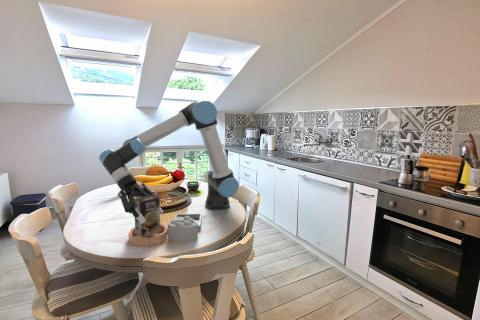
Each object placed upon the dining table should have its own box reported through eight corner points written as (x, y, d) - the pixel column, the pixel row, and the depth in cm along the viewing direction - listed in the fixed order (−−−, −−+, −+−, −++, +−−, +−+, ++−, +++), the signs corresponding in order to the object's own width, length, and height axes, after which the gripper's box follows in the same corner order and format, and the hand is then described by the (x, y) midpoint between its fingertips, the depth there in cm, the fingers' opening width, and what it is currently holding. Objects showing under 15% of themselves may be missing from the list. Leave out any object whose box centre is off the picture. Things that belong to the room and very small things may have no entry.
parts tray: (201, 217, 136) (201, 213, 135) (200, 230, 121) (200, 225, 120) (176, 218, 134) (175, 214, 134) (171, 231, 119) (171, 226, 119)
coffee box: (142, 238, 106) (140, 202, 104) (135, 233, 111) (133, 198, 108) (161, 231, 113) (159, 197, 110) (153, 227, 117) (152, 194, 115)
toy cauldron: (207, 191, 184) (207, 177, 182) (193, 197, 171) (193, 181, 169) (192, 188, 192) (192, 174, 190) (178, 193, 179) (177, 178, 177)
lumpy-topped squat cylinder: (177, 230, 121) (177, 213, 119) (202, 234, 117) (201, 216, 115) (165, 240, 111) (164, 221, 109) (191, 244, 107) (191, 225, 106)
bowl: (169, 229, 121) (169, 222, 121) (163, 245, 105) (163, 238, 105) (135, 230, 119) (135, 223, 119) (124, 247, 104) (123, 239, 103)
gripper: (139, 178, 125) (165, 213, 121) (97, 190, 104) (128, 232, 101) (147, 169, 122) (174, 204, 118) (106, 179, 101) (137, 222, 98)
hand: (152, 217), depth 110 cm, fingers closed on coffee box, 10 cm apart
